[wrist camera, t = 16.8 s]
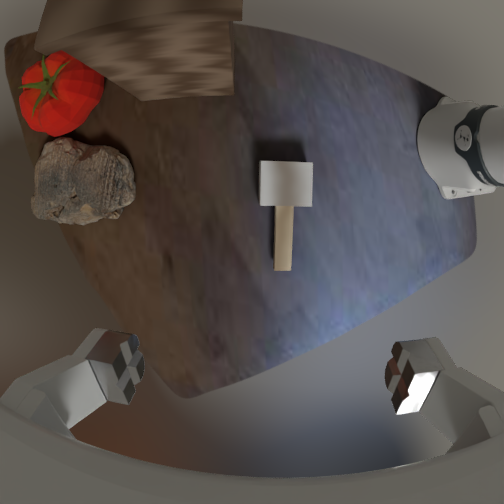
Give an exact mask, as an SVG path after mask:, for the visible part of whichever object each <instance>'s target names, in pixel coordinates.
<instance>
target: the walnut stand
mask: <svg viewBox="0 0 504 504" xmlns="http://www.w3.org/2000/svg"><path fill="white" fill-rule="evenodd" d="M242 4H243V0H47V3H46V6H45V9H44V12H43V15H42V19H41V22H40V26H39V29H38V33H37V37H36V41H35V45H34V50H36V51H38V52H40V53H43V54H44V55H46V56H47V55H49V54H52V53H55V52H58V51H61V50H62V51H64V52H66V53H67V54H69V55H71V56H72V57H74V58H76V59H77V60H79V61H81V62H82V63H84V64H85V65H87V66H89V67H90V68H92V69H94V70H95V71H97V72H98V73H100V74H101V75H103V76H105V77H106V78H108V79H109V80H111V81H112V82H114V83H115V84H117V85H118V86H120V87H121V88H123V89H125V90H126V91H128V92H129V93H131V94H132V95H134V96H135V97H137V98H138V99H139V100H141V101H148V100H157V99H167V98H178V97H193V96H214V95H234V84H235V50H234V29H233V21H242Z"/></svg>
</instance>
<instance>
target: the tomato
mask: <svg viewBox="0 0 504 504" xmlns="http://www.w3.org/2000/svg"><path fill="white" fill-rule="evenodd" d="M22 84H23V86H21V87H19V88H23V93H22V94H21V96H20V97H19V100H20V107H21V112H22V115H23V117H24V118H25V120H26V121H27V123H28V124H29V126H30V128H31V129H33V130H35V131H39V132H47V134H49V135H51V136H54V137H56V136H61V135H63V134H66V133H69V132H72V131H73V130H74V129H76V128H77V127H79V126H80V125H81V124H83V123H84V122H85V121H86V119H87V117H88V116H89V114H90V112H91V111H92V110H93V108H94V107H95V106H96V105H97V104H98V103H99V102H100V99H101V97H102V94H103V91H104V76H103V75H101V74H100V73H98V72H97V71H95V70H94V69H92V68H90V67H89V66H87V65H85V64H84V63H82V62H81V61H79V60H77V59H76V58H74V57H72V56H71V55H69V54H67V53H66V52H64V51H62V50H61V51H58V52H55V53H52V54H51V55H50V56H48V57H47V58H46V59H45V60H44V55H43V58H42V61H38V62H36V63H35V64H34V65H33V66H31V67H29V68H28V69H27V70H26V72H25V73H24V75H23V77H22Z"/></svg>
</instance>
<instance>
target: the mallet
mask: <svg viewBox="0 0 504 504" xmlns="http://www.w3.org/2000/svg"><path fill="white" fill-rule="evenodd" d="M312 181H313V163H308V162H286V161H260V162H259V204H260V206H275V229H274V263H273V268H274V271H291V258H292V235H293V208H294V206H307V207H312Z"/></svg>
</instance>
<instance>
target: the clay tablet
mask: <svg viewBox="0 0 504 504" xmlns="http://www.w3.org/2000/svg"><path fill="white" fill-rule="evenodd" d="M34 171H35V179H34V183H35V193H34V195H33V196H32V197H31V207H32V213H33V214H35V216H36V217H37V218H39V219H45V220H48V219H50V218H51V220H55V221H57V222H58V223H68V224H75V223H77V224H79V225H85V224H89V223H91V222H97V221H98V220H99V219H101V218H109V219H118V218H119V216H120V215H121V213H122V212H123V210H124V208H123V207H124V206H126V205H129V204H130V203H132V202H133V200H134V199H135V196H136V183H135V182H134V172H133V168H132V166H131V164H130V162H129V160H128V158H127V157H126V156H124V155H123V154H121V153H119V150H117V149H115V148H113V147H110V146H105V145H103V146H101V145H92V146H91V145H88V144H84V143H82V142H79V141H74V140H73V139H72V138H67V137H60V138H57V139H55V140H54V141H52V142H47V143H46V144H45V145H44V148H43V151H42V153H41V156H40V157H39V159H38V161H37V164H36V166H35V168H34Z"/></svg>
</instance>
